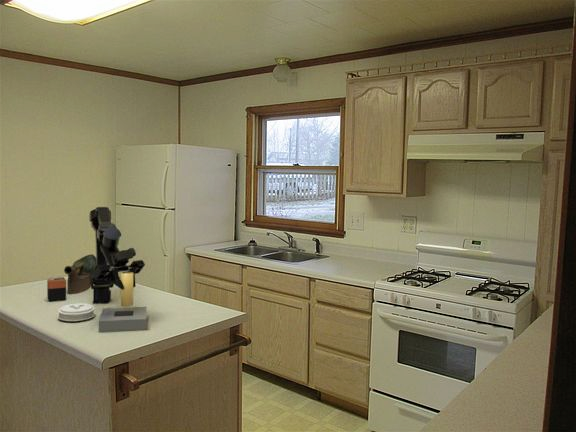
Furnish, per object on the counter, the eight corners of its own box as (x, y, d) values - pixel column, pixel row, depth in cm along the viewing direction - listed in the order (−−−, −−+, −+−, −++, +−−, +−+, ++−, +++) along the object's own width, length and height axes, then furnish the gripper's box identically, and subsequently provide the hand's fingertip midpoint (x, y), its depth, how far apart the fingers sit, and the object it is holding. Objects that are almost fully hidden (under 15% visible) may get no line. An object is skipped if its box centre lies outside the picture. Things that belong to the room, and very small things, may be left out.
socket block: (98, 332, 171) (98, 321, 170) (102, 318, 186) (102, 308, 185) (146, 329, 175) (146, 319, 175) (146, 316, 190) (146, 306, 190)
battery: (66, 300, 208) (66, 277, 207) (48, 302, 204) (48, 278, 203) (64, 298, 212) (64, 275, 211) (47, 299, 208) (47, 276, 207)
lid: (58, 315, 189) (58, 302, 188) (93, 312, 194) (93, 300, 193) (57, 325, 177) (57, 311, 177) (95, 321, 182) (95, 308, 182)
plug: (120, 306, 178) (120, 274, 177) (120, 303, 182) (121, 271, 181) (132, 306, 179) (133, 274, 178) (133, 303, 183) (133, 271, 182)
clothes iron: (58, 295, 215) (58, 265, 214) (74, 287, 231) (73, 259, 230) (76, 296, 215) (76, 266, 214) (90, 287, 231) (90, 259, 230)
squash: (59, 272, 237) (75, 251, 232) (83, 268, 250) (98, 248, 246) (74, 294, 233) (91, 273, 228) (98, 289, 247) (114, 269, 242)
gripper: (97, 243, 173) (115, 279, 168) (142, 239, 188) (159, 271, 182) (86, 262, 179) (102, 297, 173) (130, 256, 194) (146, 288, 188)
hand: (129, 288), depth 179 cm, fingers closed on plug, 4 cm apart
